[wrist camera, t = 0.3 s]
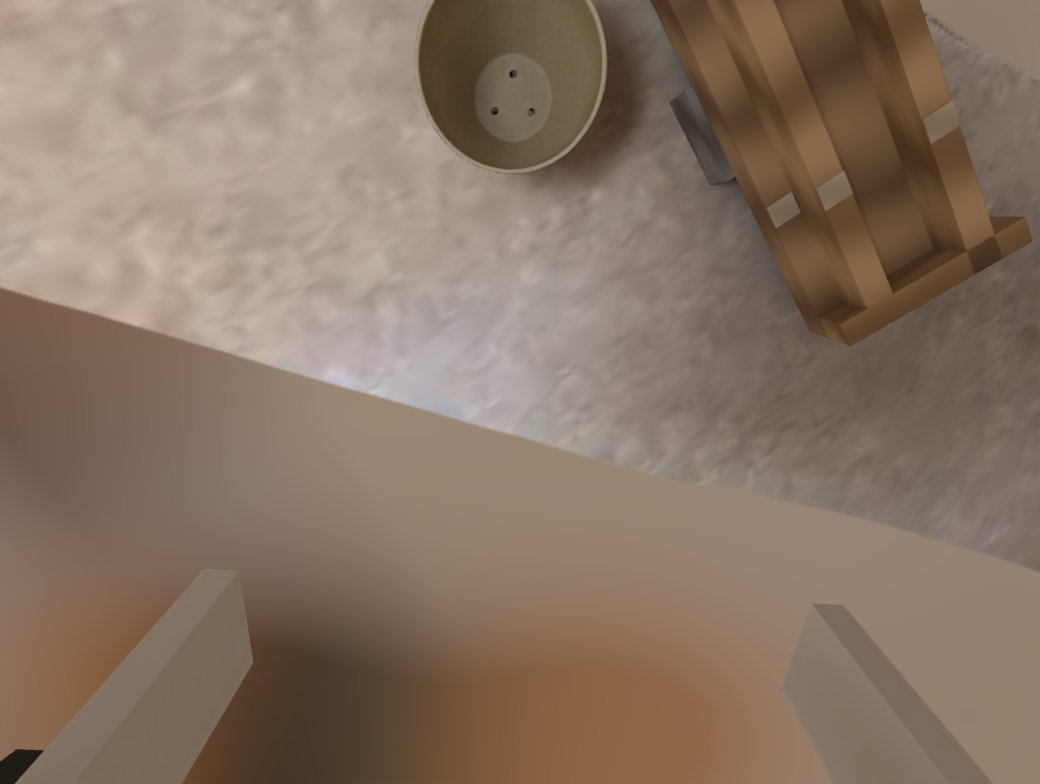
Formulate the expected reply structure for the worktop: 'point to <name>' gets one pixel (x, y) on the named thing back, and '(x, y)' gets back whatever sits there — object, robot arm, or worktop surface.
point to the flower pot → (489, 87)
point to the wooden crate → (838, 150)
